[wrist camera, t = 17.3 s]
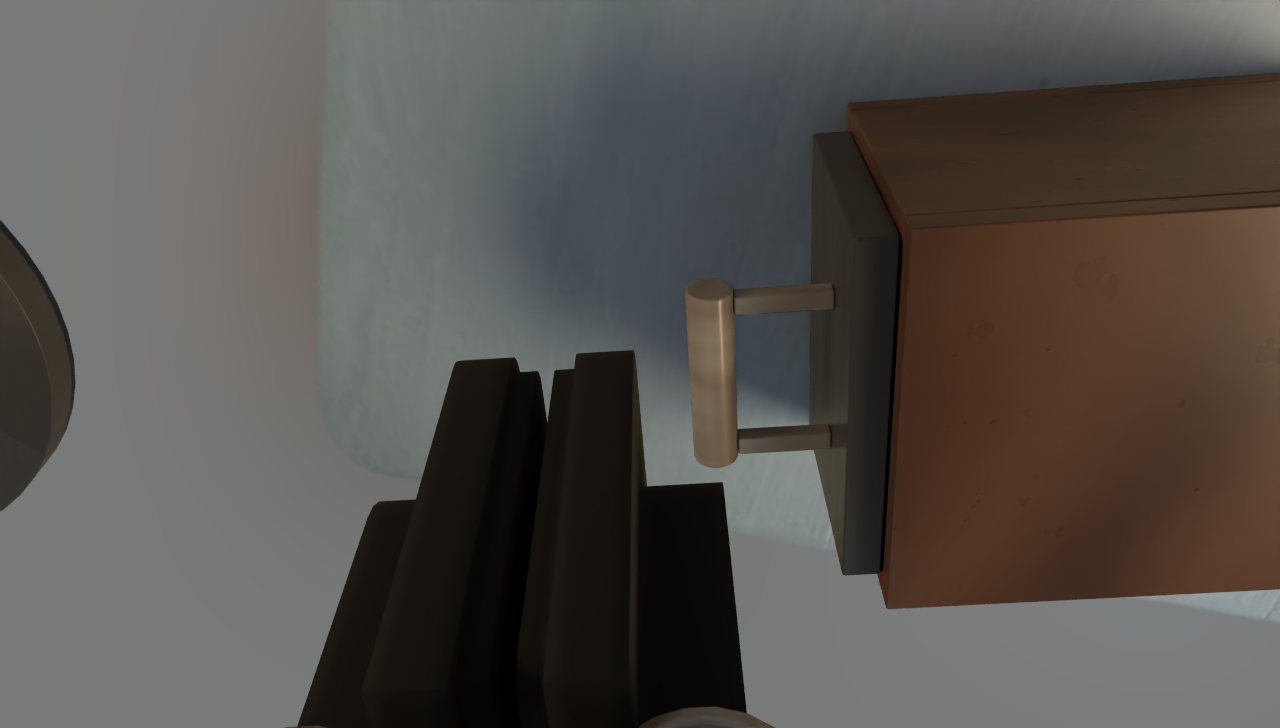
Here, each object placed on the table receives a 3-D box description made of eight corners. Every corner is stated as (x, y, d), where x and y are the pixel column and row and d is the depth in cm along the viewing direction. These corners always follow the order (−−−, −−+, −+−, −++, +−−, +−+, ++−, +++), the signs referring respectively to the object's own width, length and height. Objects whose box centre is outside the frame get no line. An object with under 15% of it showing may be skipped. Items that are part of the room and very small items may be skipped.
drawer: (692, 436, 40) (702, 584, 33) (675, 142, 34) (683, 249, 27) (1181, 408, 39) (1291, 553, 32) (1252, 102, 33) (1405, 203, 26)
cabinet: (837, 427, 41) (886, 610, 33) (846, 102, 34) (911, 229, 26) (1230, 404, 40) (1381, 585, 32) (1317, 69, 34) (1535, 188, 25)
